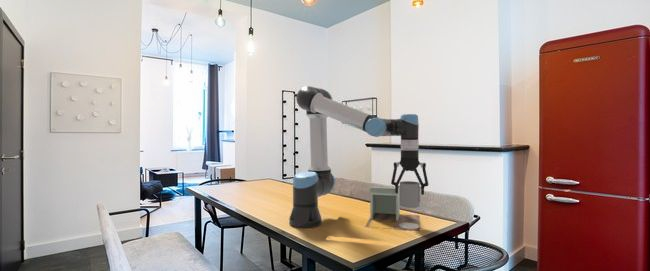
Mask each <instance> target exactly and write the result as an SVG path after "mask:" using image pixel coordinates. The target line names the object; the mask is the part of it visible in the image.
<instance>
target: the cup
mask: <svg viewBox="0 0 650 271" xmlns="http://www.w3.org/2000/svg"><path fill="white" fill-rule="evenodd" d="M399 186H400V207H401V208H410V209H417V208H419V207H420V203H419V187H421V185H420V183H419V181H413V180H412V181H411V180H409V181H407V180H406V181H405V180H403V181H400V182H399Z"/></svg>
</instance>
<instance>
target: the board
mask: <svg viewBox="0 0 650 271" xmlns="http://www.w3.org/2000/svg"><path fill="white" fill-rule="evenodd" d="M372 221H376V222H377V221H380V222H391V223H393V222H394V223H395V224H394V230H396V231H397V230H398V231H410V232H421V223H420V221H421V220H420V215H419V214H418V215H417V214H403V213H402V214H401V213H400V214H399V220H398V221H396V214H384V213H375V215H374V217H373V219H370V217H369V219H368V220H367V222H366V225H365V226H364V227H365V228H370V225H371V223H372ZM400 223H415V224H418V225H419V228H418V229H404V228H401V227H400V226H399V224H400ZM371 228H372V229H378V226H377V227H375V226H371ZM384 229H385V230H391V228H388V227H386V228H385V227H383V230H384Z"/></svg>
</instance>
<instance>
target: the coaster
mask: <svg viewBox="0 0 650 271" xmlns="http://www.w3.org/2000/svg"><path fill="white" fill-rule="evenodd" d="M399 226H400V227H401V228H404V229H418V228H419V225H418V224H415V223H400V224H399Z"/></svg>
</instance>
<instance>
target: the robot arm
mask: <svg viewBox="0 0 650 271" xmlns="http://www.w3.org/2000/svg"><path fill="white" fill-rule="evenodd" d="M295 98H296V103H297V105H298V107H299V108H301V109H302V110H304V111H305V112H306V116H307V118H308V120H309V139H310V141H309V143H310V144H309V145H310V148H309V149H310V166H309V168H308V169H307V170H308V171H304V172H303V171H302V172H298V173H296V174H294V175H293V177H292V209H291V212H290V215H289V218H288V221H289V225H290V226H292V227H294V228H295V227H296V228H300V229H301V228H304V229H307V228H314V227H319V226H320V225H322V223H323V222H322V220H323V219H322V215H321V212H320V209H319V197H323V196H326V195H327V194H329V193H331V192H332V191H333V190H334V187H335V185H336V179H335V176H334V175H333V174H332V173H333V172H332V168H331V167H330V166H329V163H328V162H329V161H328V130H327V128H328V124H327V118H328V117H329V118H331V119H333V120H335V121H338V122H341V123H343V124H345V125H348V126H350V127H352V128H355V129H357V130H360V131H363V132H365V133H367V135H368V136H370V137H375V138H378V137H400V149H401V150H400V161H394V162H393V172H392V175H391V176H392V177H391V182H390V183H391V186H394V188H395V193H398V201H399V202H400V182H401V181H402V178H403V176H404V174H405V173H406V172H414V174H415V176H416V178H417V180H418V181H417V182H418V183H420V187H419V203H422V195H424V194H425V187H428V186H429V180H428V174H427V171H426V166H427V164H426V162H420V160H419V156H420V155H419V145H420V144H419V130H420V129H419V125H420V124H419V116H418V115H417V114H415V113H406V114H404V113H403V114H401V115H400V117H399V118H397V119H396V118H390V119H389V118H387V119H386V118H381V117H377V116H375V115H372V114H369V113H367V112H364V111H361V110H359V109H357V108H354V107H351V106H349V105H347V104H346V105H345V104H344V103H341V102H338V101H336V100H333V97H332V95H331V94H330V92H329V91H327V90H326V89H323V88H319V87H315V86H308V85H307V86H304V87H301V88H300V89H299V91H298V92H297V94H296V97H295ZM399 165H400V166H401V168H402V170H401V172H400V174H399V175H398V178H397V180H396V176H397V170H398V167H399ZM418 167H420V168H421V169H422V174H423V179H424V182H423V180H422V178H421V176H420V174H419V171H418V169H417V168H418Z"/></svg>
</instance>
